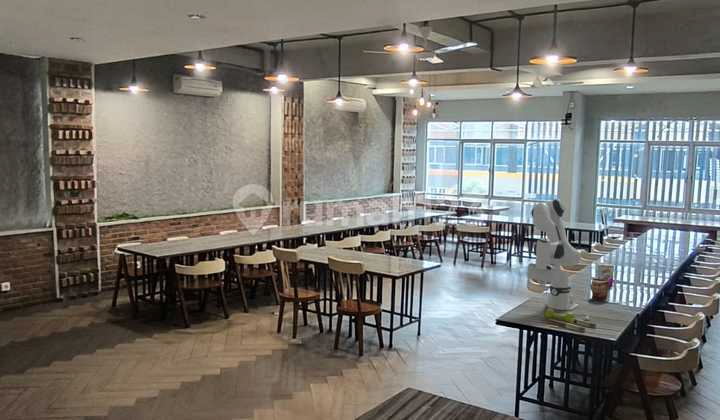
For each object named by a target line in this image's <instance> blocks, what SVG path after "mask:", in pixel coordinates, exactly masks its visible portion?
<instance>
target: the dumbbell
mask: <svg viewBox="0 0 720 420" xmlns="http://www.w3.org/2000/svg"><path fill="white" fill-rule="evenodd" d="M544 318H548V319H552V320H555V319H557V320H559V321H564V320H565V321H564V322H565V323H569V324H573V325H574V324H575V323H574V320H575V319H576V317H575V313H574V312H570V311H569V312H567V313H566V314H562V313H561V314H560V313H556V312H555V309H552V308H549V307H548V308H546V310H545V314H544Z"/></svg>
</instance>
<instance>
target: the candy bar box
mask: <svg viewBox="0 0 720 420" xmlns="http://www.w3.org/2000/svg"><path fill="white" fill-rule="evenodd" d="M614 269H615V265H614V264H608V263H607V264H606V263H598V265H597V276H596V279H604V280H607V281H608V284H609V287H614V286H613V285H614V272H615V270H614Z"/></svg>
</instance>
